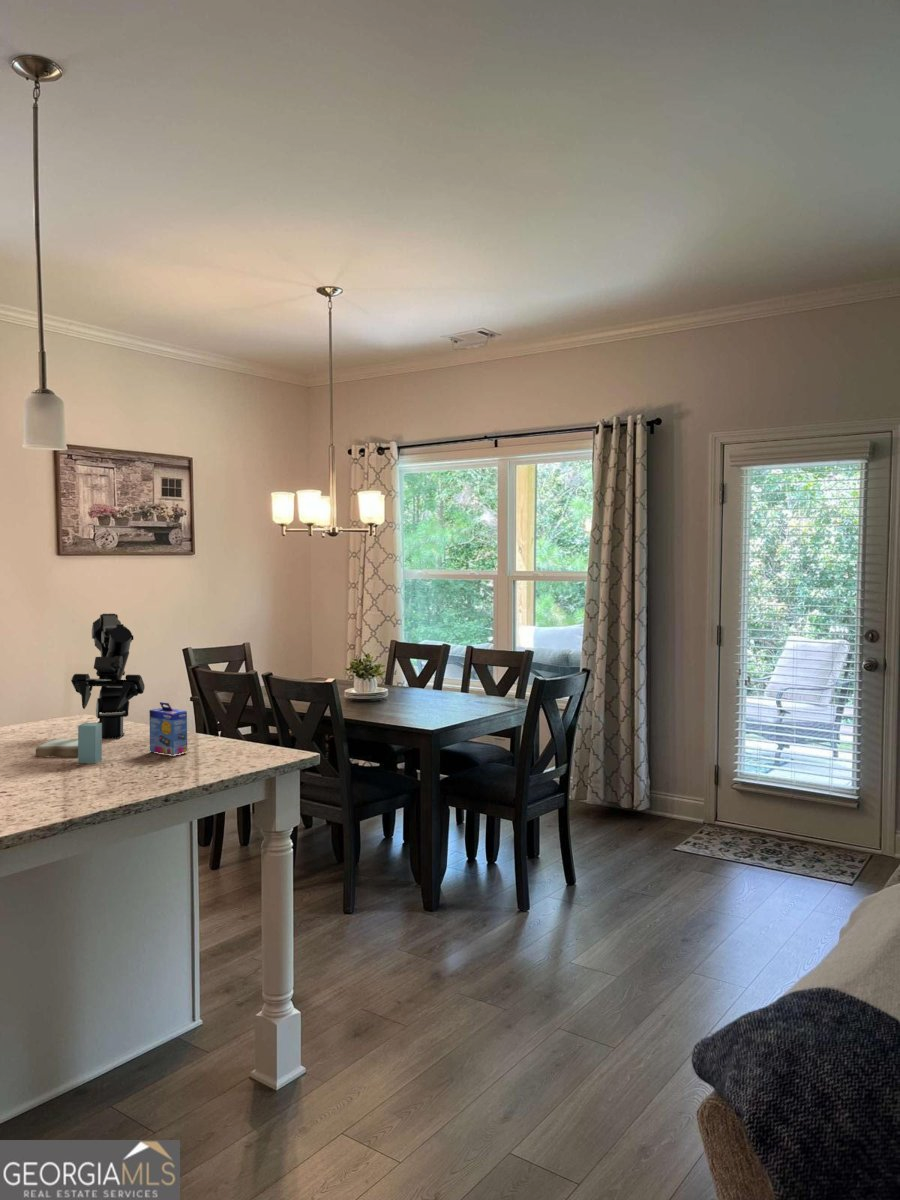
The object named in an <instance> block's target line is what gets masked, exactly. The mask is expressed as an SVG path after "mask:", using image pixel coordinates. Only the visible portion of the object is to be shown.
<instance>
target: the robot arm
mask: <svg viewBox="0 0 900 1200" xmlns="http://www.w3.org/2000/svg"><path fill="white" fill-rule="evenodd" d="M91 639H93V643H94V647H96V649H97V650H98V651H100V656H95V658H94V665H93V669H94V670H96V673H95V674H96V676H97V677H98V678H91V677H90V675H89V673H74V674H73V676H72V677H71V679H70V680H71V684H72V686H73V688H74V690H75V692H76V693H78V694H79V695H81V706H82V708H83V710H85V709H86V708H87V706H88V703H89V701H90V698H91V696H92V691H93V687H100V689H99V694H98V697H97V698H96V706H95V717H96V719H98V722H97V723H102V739H120V737H121V736H122V735H123V736H125V735H124V734H126V733H125V732H124V717H125V718H126V717H128V716H129V708H130V700H131V699H133V698H134V697H137V696H139V694H140V695H142V694H144V692H145V683H144V681H143V677H142V676H141V675H140V674H126V671H125V668H126V666H127V662H128V659H129V656H130V648H131V643H132V642H133V641H134V635H133V633H132V632H131V630H130V629H129V628H128V627H127V626H126V625H125V626H124V624H123V623H122V622H121V620H119V616H118V614H116V613H101V614H100V615H99V618H97V619H96V620H94V621H93V622H92V626H91ZM123 676H125V679H122V677H123ZM123 736H122V737H123Z"/></svg>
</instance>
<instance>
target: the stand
mask: <svg viewBox="0 0 900 1200" xmlns="http://www.w3.org/2000/svg"><path fill="white" fill-rule="evenodd" d="M36 756H39V757H38V758H46V757H45V756H49V758H52V757H51V756H61V757H60V758H65V757H66V756H76V757H75V758H78V738H52V739H50V740H48V741H46V742H44V743H43V744H41V745H39V746H38V747H37V748H35V757H36ZM66 758H67V757H66Z"/></svg>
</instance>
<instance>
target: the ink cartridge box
mask: <svg viewBox="0 0 900 1200" xmlns="http://www.w3.org/2000/svg"><path fill="white" fill-rule="evenodd" d="M159 705H160V706H161V708H160V707H159V708H152V709H149V752H150V751H151V752H158V753H164V754H171V755H174V754H179V753H182V752H186V751H187V752H188V713H187V711H186V710H183V709H173V708H172V707H171V705H170V704H169V702H159Z"/></svg>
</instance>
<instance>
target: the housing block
mask: <svg viewBox="0 0 900 1200" xmlns="http://www.w3.org/2000/svg"><path fill="white" fill-rule="evenodd" d="M77 734H78V735H77V739H78V757H77V764H79V763H96V764H97V763H99V762H100V760H101V761H102V760H103V758H102V756H103V752H102V751H103V744H102V743H103V738H102V723H98V722H83V723H81V724H78V725H77Z"/></svg>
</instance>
